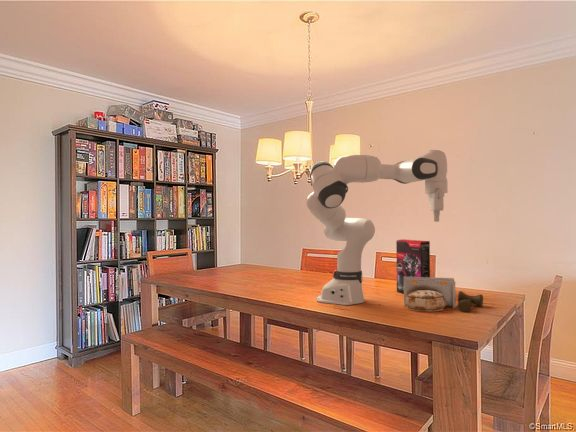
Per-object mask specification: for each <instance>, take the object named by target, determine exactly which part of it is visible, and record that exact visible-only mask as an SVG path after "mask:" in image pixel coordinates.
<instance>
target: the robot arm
mask: <svg viewBox="0 0 576 432" xmlns="http://www.w3.org/2000/svg"><path fill="white" fill-rule="evenodd" d="M447 160H448V159H447V156H446V153H445V152H444V151H442V150H437V149H430V150H428V151H426V153H424V154H423V155H421V156H418V157H415V158H412V159H408V160H403V161H399V162H397V163H395V164H387V163H386V164H384V163H382V162H381V160H380V159H379V158H378V156H374V155H368V154H351V155H344V156H340V157H338V158H337V159H336V160H335V162H334V164H333V165H332V164H331V163H330V162H328V161H321V160H320V161H318V162H316V163H314V164H313V165H312V166H311V168H310V170H309V171H310V172H309V178H310V179H309V180H310V185H311V186H312V189H313V191H312V192H311V193H310V194H309V195H308V196H307V199H306V207H307V208H308V210H309V211H310V212H311V214H312V215H313V216H314V217H315V218H316V219H317V220H318V221H320V223H322V224H323V225H324V227H323V232H324V235H325V237H326V238H327V239H330V240H332V241H333V240H334V241H338V242H346V244H345V247H344V248H343V249H342V250H340V251H339V252H338V253H337V255H336V256H337V257H336V259H337V260H336V263H337V264H336V265H337V266H336V268H337V269H334V271H333V272H332V279H331V280H329V281H328V282H326V283H325V284H324V285H323V286H322V289H321V293H320V294H319V295H318V296H317V297H316V302H317V301H318V303H325V304H334V305H343V306H350V305H357V304H361V303H364V302H366V299H365V296H364V290H363V271H362V254H363V250H364V248H365V247H366V244H368V242H369V241H371V240H372V238H374V235H375V232H376V227H375V225H374V223H373V222H372V220H371V219H368V218H363V217H347V214H346V210H345V208H344V207H343V206H342V205H341V204H342V203H343V202H344V201H345V198H346V194H347V193H348V191H349V187H348V184H351V183H363V184H364V183H372V182H377V181H378V180H379V179H380V180H393V181H395V182H397V183H400V184H404V185H405V184H406V185H407V184H409V183H410V184H411V183H414V182H415V183H416V182H421V181H424V193H425V194H426V195H428V197H427V198H428V203H429V204H428V206H429V210H430V211H431V212H433V214H432V215H433V222H436V223H438V222H440V216H441V215H440V214H441V212H442V211H444V197H445V194H448V192H449V191H448V178H447V174H448V161H447Z"/></svg>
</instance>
